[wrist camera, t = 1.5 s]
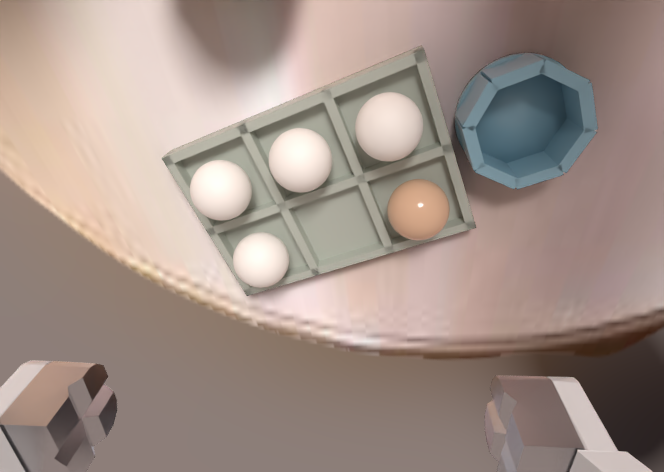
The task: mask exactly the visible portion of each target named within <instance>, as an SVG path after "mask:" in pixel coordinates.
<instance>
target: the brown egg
mask: <svg viewBox="0 0 664 472" xmlns="http://www.w3.org/2000/svg"><path fill="white" fill-rule="evenodd" d="M449 212H450V206H449V201H448V198H447V196H446V194H445V192H444V191H443V190H442V189H441V188H440V187H439V186H438V185H437V184H435V183H433V182H431V181H429V180H425V179H412V180H409V181H406V182H404V183H402V184H401V185H399V186H398V187H397V188H396V189H395V190H394V191H393V193H392V194H391V196H390V199H389V201H388V206H387V214H388V219H389V221H390V224H391V225H392V227H393V228H394V230H395V231H396V232H397V233H399V234H400V235H401V236H403V237H405V238H408V239H411V240H425V239H429V238H431V237H433V236H435V235H436V234H438V233H439V232H440V231H441V230H442V229H443V228H444V226H445V225H446V223H447V221H448V218H449Z"/></svg>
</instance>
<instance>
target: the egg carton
mask: <svg viewBox="0 0 664 472" xmlns="http://www.w3.org/2000/svg"><path fill="white" fill-rule="evenodd" d="M162 160H163V161H164V163H165V165H166V166H167V168H168V169H169V171H170V173H171V174H172V176H173V177H174V179H175V181H176V182H177V184H178V185H179V187H180V189H181V190H182V192H183V194H184V195H185V197H186V198H187V200H188V202H189V203H190V205H191V206H192V208H193V210H194V211H195V213H196V215H197V216H198V218H199V219H200V221H201V223H202V224H203V226H204V227H205V229H206V231H207V232H208V234H209V235H210V237H211V239H212V240H213V242H214V244H215V245H216V247H217V248H218V250H219V252H220V253H221V255H222V256H223V258H224V260H225V261H226V263H227V264H228V266H229V268H230V269H231V271H232V273H233V274H234V276H235V277H236V279H237V281H238V282H239V284H240V285H241V287H242V289H243V290H244V292H245V294H246V295H247V296H249V295H252V294H255V293H259V292H262V291H266V290H269V289H272V288H276V287H279V286H282V285H286V284H289V283H292V282H296V281H299V280H302V279H306V278H309V277H313V276H316V275H319V274H323V273H326V272H329V271H333V270H336V269H339V268H343V267H346V266H349V265H353V264H356V263H360V262H363V261H366V260H370V259H373V258H376V257H380V256H383V255H386V254H390V253H393V252H397V251H400V250H403V249H407V248H410V247H413V246H417V245H420V244H423V243H427V242H430V241H433V240H437V239H440V238H444V237H447V236H450V235H454V234H457V233H460V232H464V231H467V230H470V229H474V228H476V225H475V222H474V218H473V215H472V212H471V208H470V205H469V201H468V198H467V195H466V191H465V188H464V184H463V181H462V177H461V174H460V171H459V167H458V164H457V160H456V157H455V153H454V150H453V147H452V143H451V140H450V136H449V133H448V130H447V126H446V123H445V119H444V116H443V112H442V109H441V106H440V102H439V99H438V95H437V92H436V89H435V85H434V82H433V78H432V75H431V71H430V68H429V65H428V61H427V58H426V54H425V51H424V48H423V47H422V46H419V47H417V48H415V49H412V50H410V51H407V52H405V53H403V54H400V55H398V56H395V57H393V58H391V59H388V60H386V61H384V62H381V63H379V64H376V65H374V66H372V67H369V68H367V69H364V70H362V71H360V72H357V73H355V74H352V75H350V76H348V77H345V78H343V79H341V80H338V81H336V82H333V83H331V84H329V85H326V86H324V87H321V88H319V89H317V90H314V91H312V92H309V93H307V94H305V95H302V96H300V97H298V98H295V99H293V100H290V101H288V102H286V103H283V104H281V105H278V106H276V107H274V108H271V109H269V110H266V111H264V112H262V113H259V114H257V115H254V116H252V117H250V118H247V119H245V120H243V121H240V122H238V123H235V124H233V125H231V126H228V127H226V128H223V129H221V130H219V131H216V132H214V133H211V134H209V135H207V136H204V137H202V138H200V139H197V140H195V141H192V142H190V143H188V144H185V145H183V146H180V147H178V148H176V149H173V150H171V151H170V152H168V153H167V154H166V155H165V156H164V157H162ZM412 179H425V180H429V181H431V182H433V183H435V184H437V185H438V186H439V187H440V188H441V189H442V190H443V191H444V192H445V194H446V196H447V198H448V201H449V206H450V212H449V218H448V221H447V223H446V225H445V226H444V228H443V229H442V230H441V231H440V232H439V233H438V234H436V235H435V236H433V237H431V238H429V239H425V240H411V239H408V238H405V237H403V236H401V235H400V234H399V233H397V232H396V231H395V230H394V228H393V227H392V225H391V224H390V221H389V219H388V214H387V206H388V201H389V199H390V196H391V194H392V193H393V191H394V190H395V189H396V188H397V187H398V186H399V185H401V184H402V183H404V182H406V181H409V180H412Z"/></svg>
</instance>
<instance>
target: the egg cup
mask: <svg viewBox="0 0 664 472" xmlns="http://www.w3.org/2000/svg"><path fill="white" fill-rule="evenodd" d="M589 81H590V80H588V79H586V78H584V77H582V76H580V75H578V74H576V73H574V72H572V71H570V70H567V69H566V68H565V67H564V66H563V65H562V64H560V63H559V62H557V61H555V60H554V59H552V58H549V57H547V56H544V55H541V54H536V53H516V54H511V55H508V56H504V57H501V58H499V59H497V60H495V61H493V62H491V63H490V64H488V65H486V66H485V67H484V68H483V69H481V70H480V71H479V72H478V73H477V74H476V75H475V76H474V77H473V78H472V79H471V80H470V81H469V83H468V84H467V85H466V87H465V89H464V90H463V92H462V94H461V96H460V98H459V101H458V104H457V107H456V112H455V130H456V135H457V138H458V141H459V143H460V145H461V147H462V149H463V150H464V152H465V155H466V157H467V159H468V161H469V163H470V165H471V166H472V168H473V170H474V171H475V173H478V174H480V175H482V176H485V177H487V178H489V179H491V180H494V181H496V182H498V183H501V184H503V185H505V186H507V187H510V188H512V189H515V187H516V189H520V188H523V187H527V186H530V185H533V184H536V183H539V182H543V181H546V180H549V179H552V178H555V177H559V176H562V175H564V174H563V172H565V173H567V171H568V170H569V169H570V167H571V166H572V165H573V163H574V162H575V161H576V159H577V158H578V157H579V155H580V154H581V153H582V151H583V150H584V149H585V147H586V146H587V145H588V143H589V142H590V141H591V139H592V138H593V137H594V135H595V134H596V133H597V132H596V131H594V130H597V129H598V127H597V119H596V112H595V104H594V96H593V88H592V83H591V82H589Z"/></svg>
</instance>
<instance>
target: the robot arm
mask: <svg viewBox="0 0 664 472" xmlns="http://www.w3.org/2000/svg"><path fill="white" fill-rule="evenodd" d="M107 378H108V375H107V372H106V370H105V367H104V365H100V364H96V363H77V362H59V361H36V360H31V361H29V362H26V363H24V364H22V365H21V366H20V367H19V368H18V370H17V371H16V372H15V373H14V374H13V375H12V376H11V377H10V378H9V379H8V380H7V381H6V382H5V384H4V385H3V386H2V387H1V388H0V472H86V471H87V470H88V468H89V466H90V464H91V463H92V461H93V460H94V458H95V452H94V446H95V445H96V444H98V443H99V442H101V441H102V440H103V439H105V438H106V437H107V435H108V434H109V432H110V430H111V428H112V426H113V424H114V421H115V417H116V413H117V399H116V396H115V393H114V391H112V390H111V389H110V388H109V387H108V386H106V385H105V384H104V383H105V381H106V379H107ZM490 391H491V394H492V397H493V400H492V401H491V402H489V403H488V404H487V405H486V411H485V434H486V440H487V444H488V448H489V452H490V454H491V455H492V456H493V457H494V458H495V459H496V460H497V461H498V462H499V464H498V468H497V472H653V471H651V470H650V469H649V468H647V467H646V466H645V465H643V464H642V463H641V462H639V461H638V460H637V459H636V458H634V457H633V456H632V455H630V454H629V453H628V452H621V451H618V450H617V448H616V447H615V445H614V443H613V441H612V440H611V438H610V436H609V435H608V433H607V431H606V429H605V427H604V425H603V424H602V422H601V420H600V418H599V417H598V415H597V413H596V411H595V410H594V408H593V406H592V404H591V403H590V401H589V399H588V397H587V396H586V394H585V392H584V390H583V389H582V387H581V385H580V383H579V382H578V381H577V380H576V379H575V378H574V377H541V376H496V375H495V376H494V378H493V379H492V382H491V387H490Z"/></svg>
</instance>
